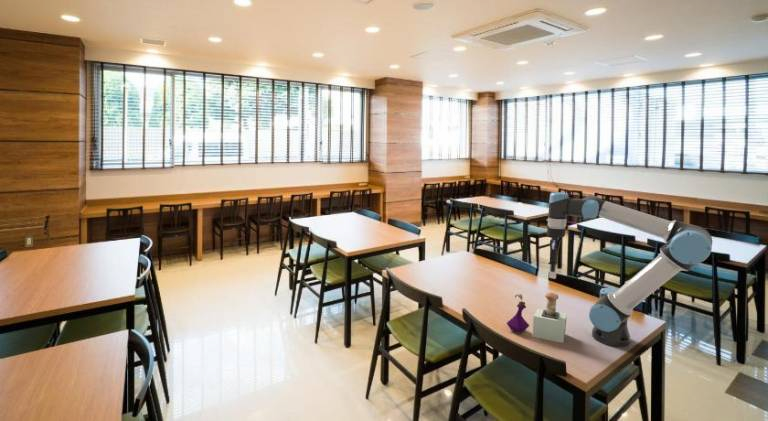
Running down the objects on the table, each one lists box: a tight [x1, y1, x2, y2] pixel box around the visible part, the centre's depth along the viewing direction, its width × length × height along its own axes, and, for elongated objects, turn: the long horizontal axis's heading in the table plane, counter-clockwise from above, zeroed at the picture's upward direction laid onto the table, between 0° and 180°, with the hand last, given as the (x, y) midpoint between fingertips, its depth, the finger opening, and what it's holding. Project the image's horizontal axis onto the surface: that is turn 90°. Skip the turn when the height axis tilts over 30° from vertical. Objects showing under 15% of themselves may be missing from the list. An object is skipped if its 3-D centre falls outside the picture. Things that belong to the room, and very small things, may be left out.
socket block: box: [532, 308, 568, 344], centre depth 184 cm, size 13×10×11 cm
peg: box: [544, 292, 559, 317], centre depth 183 cm, size 6×6×10 cm
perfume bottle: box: [506, 293, 530, 334], centre depth 188 cm, size 8×8×18 cm
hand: (552, 277), depth 182 cm, fingers closed
